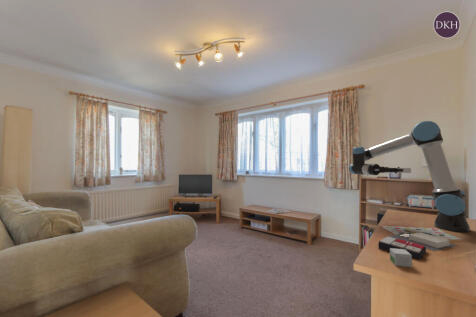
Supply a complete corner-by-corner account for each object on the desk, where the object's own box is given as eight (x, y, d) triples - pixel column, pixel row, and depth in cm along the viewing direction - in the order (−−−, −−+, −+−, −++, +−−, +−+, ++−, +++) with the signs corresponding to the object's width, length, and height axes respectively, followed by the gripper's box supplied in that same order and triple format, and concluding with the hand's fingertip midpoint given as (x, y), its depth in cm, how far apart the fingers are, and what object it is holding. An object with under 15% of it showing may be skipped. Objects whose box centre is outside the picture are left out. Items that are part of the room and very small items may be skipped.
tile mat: (410, 233, 121) (410, 232, 121) (458, 246, 102) (458, 245, 102) (388, 237, 115) (388, 236, 115) (434, 252, 96) (434, 251, 96)
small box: (389, 259, 89) (389, 247, 89) (406, 261, 87) (405, 249, 87) (394, 265, 84) (394, 253, 84) (412, 268, 82) (412, 255, 82)
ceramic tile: (420, 232, 113) (449, 240, 102) (420, 237, 113) (449, 246, 101) (409, 234, 110) (438, 242, 98) (409, 239, 109) (438, 248, 98)
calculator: (420, 252, 88) (378, 239, 100) (419, 262, 88) (377, 249, 100) (426, 245, 95) (386, 234, 107) (426, 255, 95) (386, 243, 107)
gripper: (378, 174, 148) (417, 176, 126) (364, 175, 144) (402, 177, 122) (378, 163, 149) (417, 163, 127) (364, 163, 144) (402, 164, 122)
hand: (410, 170), depth 124 cm, fingers closed
